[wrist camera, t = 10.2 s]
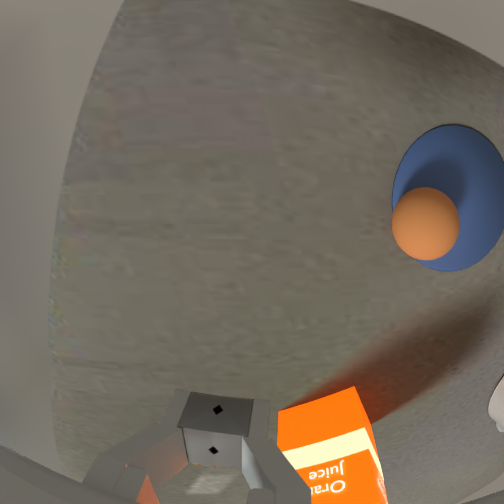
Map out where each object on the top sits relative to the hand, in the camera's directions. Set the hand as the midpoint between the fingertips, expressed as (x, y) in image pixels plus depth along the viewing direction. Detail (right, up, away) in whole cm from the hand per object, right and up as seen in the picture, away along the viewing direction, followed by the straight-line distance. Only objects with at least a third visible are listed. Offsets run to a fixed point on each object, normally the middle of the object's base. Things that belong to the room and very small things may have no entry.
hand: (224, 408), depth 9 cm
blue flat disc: (+19, +9, +14) cm, 25 cm away
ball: (+14, +7, +12) cm, 20 cm away
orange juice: (+9, -14, +23) cm, 28 cm away
